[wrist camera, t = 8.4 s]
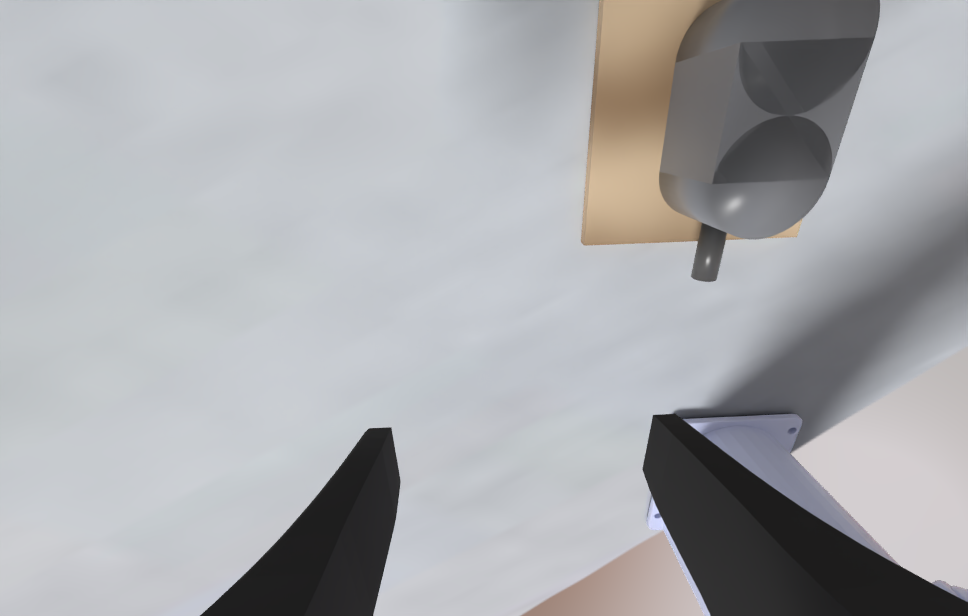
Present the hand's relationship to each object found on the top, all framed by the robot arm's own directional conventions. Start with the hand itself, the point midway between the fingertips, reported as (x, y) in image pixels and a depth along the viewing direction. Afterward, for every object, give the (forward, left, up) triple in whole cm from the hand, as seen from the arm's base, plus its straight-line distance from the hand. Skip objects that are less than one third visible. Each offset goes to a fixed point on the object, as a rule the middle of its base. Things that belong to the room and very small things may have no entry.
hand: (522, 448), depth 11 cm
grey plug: (+7, -9, -9) cm, 15 cm away
